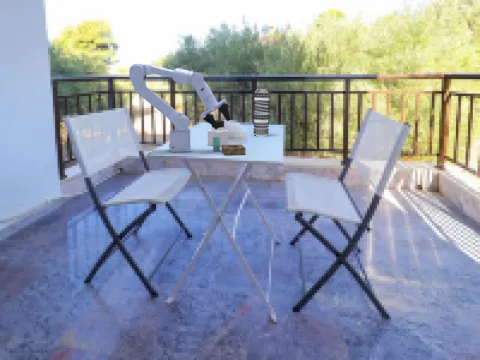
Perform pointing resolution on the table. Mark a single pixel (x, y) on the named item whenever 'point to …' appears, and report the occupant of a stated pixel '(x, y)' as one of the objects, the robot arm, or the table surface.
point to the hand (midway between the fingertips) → (223, 124)
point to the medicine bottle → (218, 133)
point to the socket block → (233, 149)
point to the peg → (216, 144)
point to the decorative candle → (261, 112)
